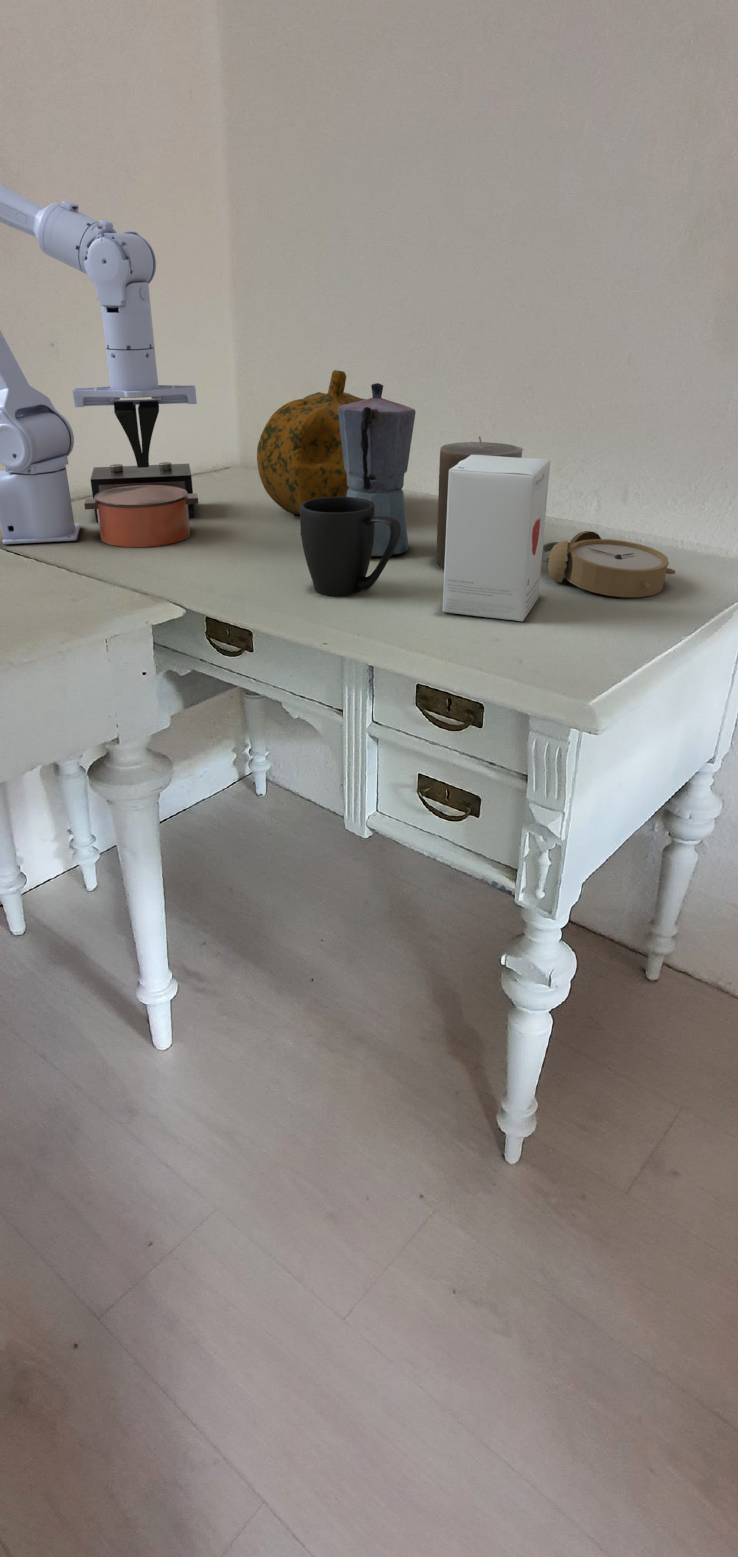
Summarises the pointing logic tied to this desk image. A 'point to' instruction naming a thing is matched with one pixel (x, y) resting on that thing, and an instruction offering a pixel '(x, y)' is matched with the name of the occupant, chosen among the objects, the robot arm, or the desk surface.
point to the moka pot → (378, 459)
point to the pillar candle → (448, 460)
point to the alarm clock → (607, 565)
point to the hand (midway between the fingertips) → (143, 466)
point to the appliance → (142, 478)
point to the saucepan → (143, 515)
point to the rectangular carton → (495, 536)
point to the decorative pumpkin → (305, 448)
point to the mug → (342, 543)
